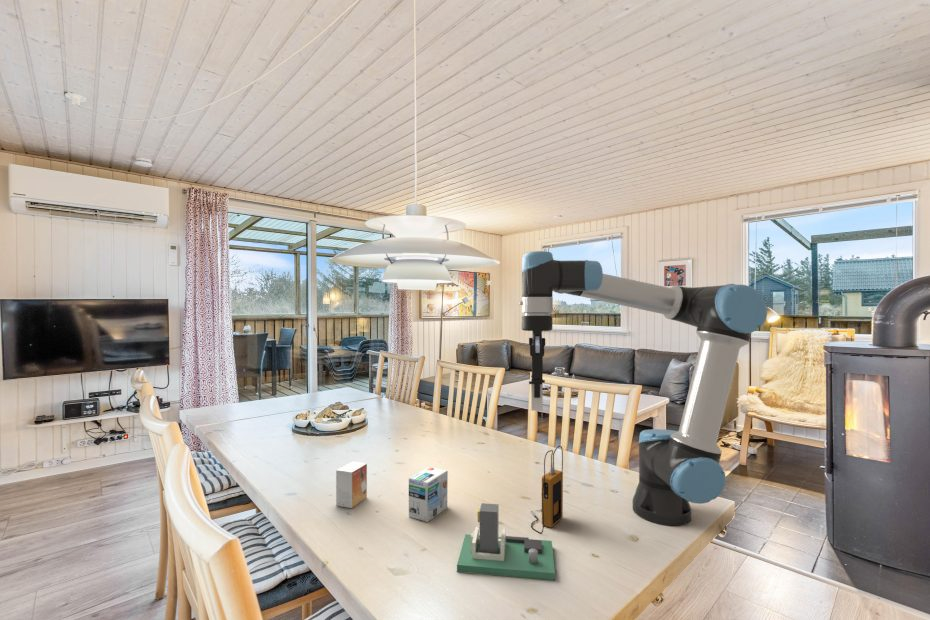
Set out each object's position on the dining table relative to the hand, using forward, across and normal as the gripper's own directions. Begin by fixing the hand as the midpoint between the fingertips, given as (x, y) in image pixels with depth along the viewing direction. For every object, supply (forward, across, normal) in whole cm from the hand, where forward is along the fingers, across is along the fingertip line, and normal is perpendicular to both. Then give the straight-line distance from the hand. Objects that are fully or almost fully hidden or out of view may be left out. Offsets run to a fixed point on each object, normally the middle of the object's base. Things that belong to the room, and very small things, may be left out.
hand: (536, 409), depth 108 cm
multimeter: (+33, -12, +1) cm, 35 cm away
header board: (+32, +9, -7) cm, 34 cm away
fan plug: (+31, +9, -11) cm, 34 cm away
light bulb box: (+33, -11, -30) cm, 46 cm away
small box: (+33, -14, -54) cm, 65 cm away
